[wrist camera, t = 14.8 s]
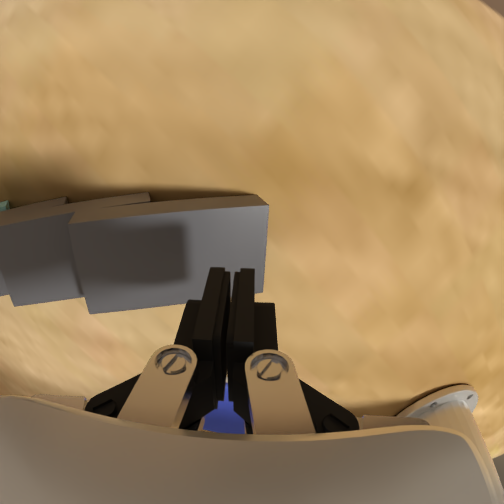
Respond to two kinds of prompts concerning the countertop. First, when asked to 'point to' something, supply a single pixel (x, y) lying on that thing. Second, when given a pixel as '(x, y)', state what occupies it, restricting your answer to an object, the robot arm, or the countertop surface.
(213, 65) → the countertop surface
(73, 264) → the tile
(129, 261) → the tile
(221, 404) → the hard drive
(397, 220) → the countertop surface
